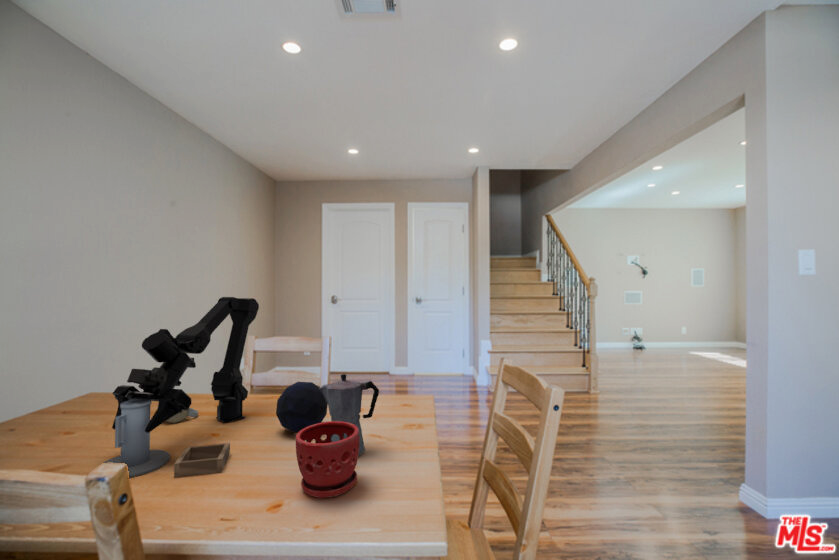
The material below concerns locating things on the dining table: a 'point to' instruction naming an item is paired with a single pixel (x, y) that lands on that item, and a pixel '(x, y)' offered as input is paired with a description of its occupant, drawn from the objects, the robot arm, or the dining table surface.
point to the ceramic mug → (183, 415)
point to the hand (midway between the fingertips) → (129, 430)
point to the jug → (133, 431)
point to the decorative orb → (301, 406)
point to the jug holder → (202, 460)
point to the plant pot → (327, 458)
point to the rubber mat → (146, 463)
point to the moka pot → (348, 403)
